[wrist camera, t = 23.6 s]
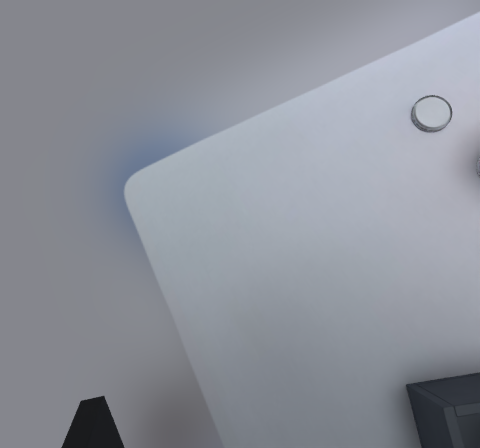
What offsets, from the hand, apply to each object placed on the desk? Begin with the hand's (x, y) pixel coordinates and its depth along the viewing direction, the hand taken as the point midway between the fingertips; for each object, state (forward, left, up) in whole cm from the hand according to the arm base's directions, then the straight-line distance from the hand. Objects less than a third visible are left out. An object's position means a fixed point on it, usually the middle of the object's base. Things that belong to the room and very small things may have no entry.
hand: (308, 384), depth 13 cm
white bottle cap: (+19, +20, -29) cm, 40 cm away
